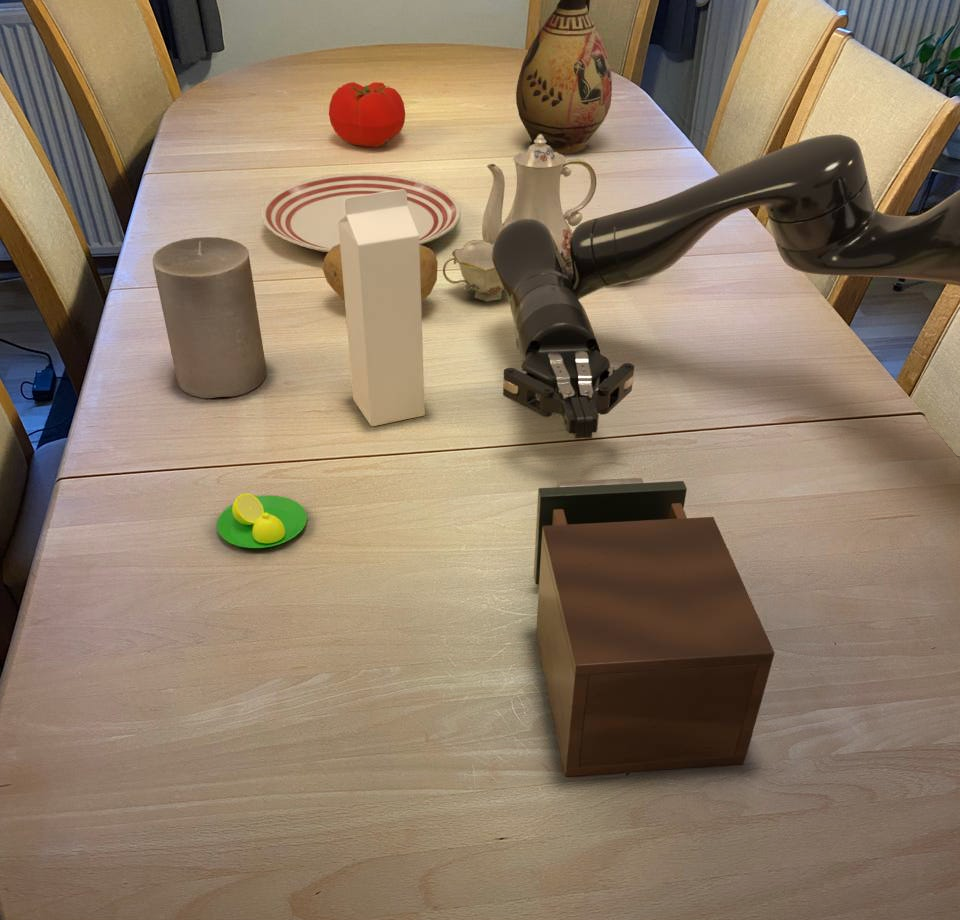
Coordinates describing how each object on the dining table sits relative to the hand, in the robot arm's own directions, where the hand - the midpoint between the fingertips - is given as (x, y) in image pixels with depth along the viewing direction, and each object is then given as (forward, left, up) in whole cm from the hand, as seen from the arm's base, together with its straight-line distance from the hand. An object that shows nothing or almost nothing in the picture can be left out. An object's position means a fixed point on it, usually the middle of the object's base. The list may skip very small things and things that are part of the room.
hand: (584, 429), depth 90 cm
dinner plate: (+19, -68, -8) cm, 71 cm away
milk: (+17, -19, -8) cm, 27 cm away
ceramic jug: (-15, -103, -8) cm, 105 cm away
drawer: (0, +16, -7) cm, 17 cm away
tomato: (+17, -107, -8) cm, 109 cm away
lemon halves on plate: (+29, +1, -8) cm, 30 cm away
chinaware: (-4, -51, -8) cm, 52 cm away
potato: (+17, -43, -8) cm, 47 cm away
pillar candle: (+35, -27, -8) cm, 45 cm away
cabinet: (0, +25, -8) cm, 26 cm away
